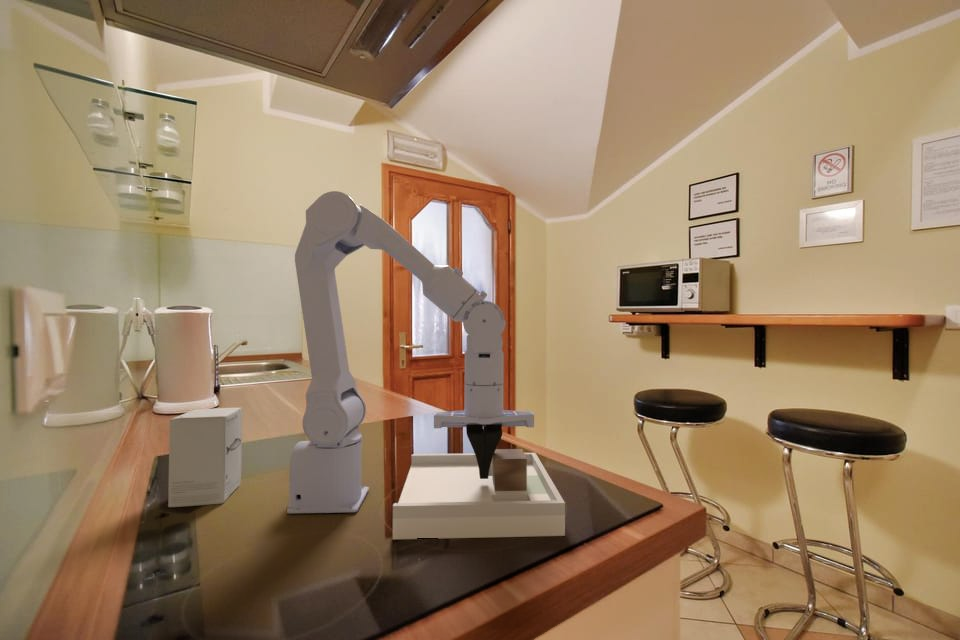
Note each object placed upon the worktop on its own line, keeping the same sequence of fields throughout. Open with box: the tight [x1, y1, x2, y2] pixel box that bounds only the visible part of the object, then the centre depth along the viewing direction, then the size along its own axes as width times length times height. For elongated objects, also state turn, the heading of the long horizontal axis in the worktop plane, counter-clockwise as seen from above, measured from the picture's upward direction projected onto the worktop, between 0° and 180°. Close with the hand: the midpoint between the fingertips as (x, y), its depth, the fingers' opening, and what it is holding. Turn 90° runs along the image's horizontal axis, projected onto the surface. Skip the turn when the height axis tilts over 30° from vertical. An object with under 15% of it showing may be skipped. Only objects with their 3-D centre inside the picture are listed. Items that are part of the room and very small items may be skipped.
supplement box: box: [167, 407, 243, 508], centre depth 62 cm, size 7×7×13 cm
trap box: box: [392, 452, 566, 540], centre depth 60 cm, size 21×20×4 cm
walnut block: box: [492, 448, 527, 491], centre depth 60 cm, size 4×4×4 cm
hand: (483, 476), depth 60 cm, fingers closed
